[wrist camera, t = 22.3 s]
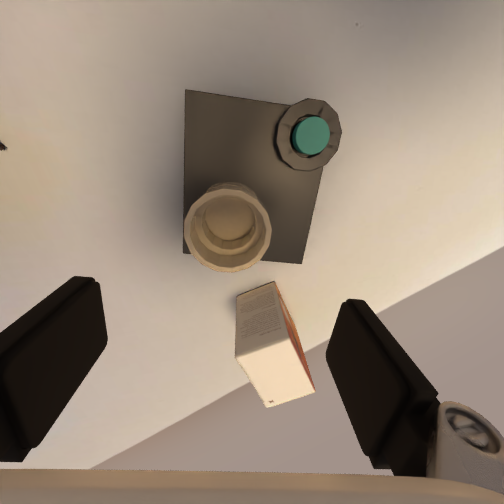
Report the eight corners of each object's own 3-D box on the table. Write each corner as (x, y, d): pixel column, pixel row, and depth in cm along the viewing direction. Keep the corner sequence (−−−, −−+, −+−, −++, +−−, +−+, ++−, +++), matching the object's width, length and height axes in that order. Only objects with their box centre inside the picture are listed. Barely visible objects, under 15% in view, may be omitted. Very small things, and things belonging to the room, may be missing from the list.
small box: (294, 324, 34) (317, 393, 24) (258, 338, 35) (266, 411, 25) (274, 279, 31) (291, 338, 21) (235, 295, 32) (233, 359, 22)
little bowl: (196, 176, 24) (184, 184, 19) (269, 185, 25) (277, 195, 19) (194, 244, 27) (183, 268, 21) (259, 250, 28) (264, 275, 22)
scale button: (295, 116, 22) (299, 113, 20) (327, 121, 22) (333, 119, 20) (289, 152, 23) (292, 152, 21) (319, 156, 23) (325, 156, 21)
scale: (188, 86, 22) (181, 77, 20) (335, 109, 24) (348, 104, 21) (185, 248, 29) (179, 259, 26) (302, 259, 30) (309, 270, 27)
